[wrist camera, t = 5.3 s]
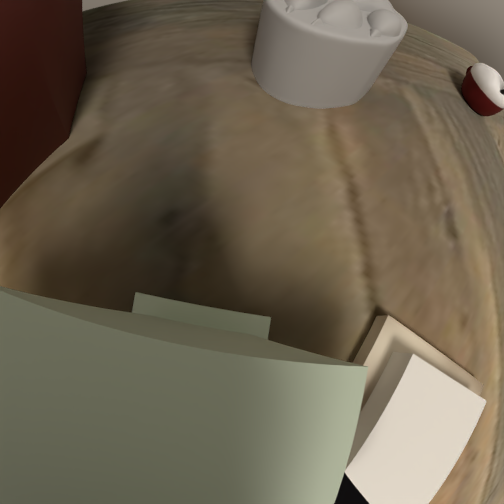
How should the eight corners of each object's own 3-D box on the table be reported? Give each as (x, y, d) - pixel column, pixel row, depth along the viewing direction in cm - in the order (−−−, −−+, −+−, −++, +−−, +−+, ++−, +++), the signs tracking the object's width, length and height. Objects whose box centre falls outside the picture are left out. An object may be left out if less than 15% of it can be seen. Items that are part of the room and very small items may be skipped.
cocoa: (451, 75, 26) (493, 19, 15) (484, 100, 26) (527, 51, 15) (459, 113, 23) (516, 48, 12) (495, 143, 23) (553, 88, 12)
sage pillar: (247, 436, 14) (320, 621, 1) (124, 412, 13) (-19, 540, 1) (266, 317, 16) (438, 289, 3) (141, 294, 15) (-39, 201, 3)
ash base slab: (392, 507, 14) (405, 517, 12) (271, 474, 14) (277, 489, 12) (467, 382, 17) (483, 384, 15) (371, 316, 17) (388, 314, 15)
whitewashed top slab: (406, 502, 12) (420, 513, 10) (312, 481, 12) (324, 497, 10) (468, 397, 15) (486, 401, 13) (392, 351, 15) (412, 353, 13)
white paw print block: (385, 71, 23) (423, 12, 14) (329, 135, 19) (382, 49, 11) (301, 20, 23) (321, -42, 15) (219, 67, 20) (227, -23, 12)
